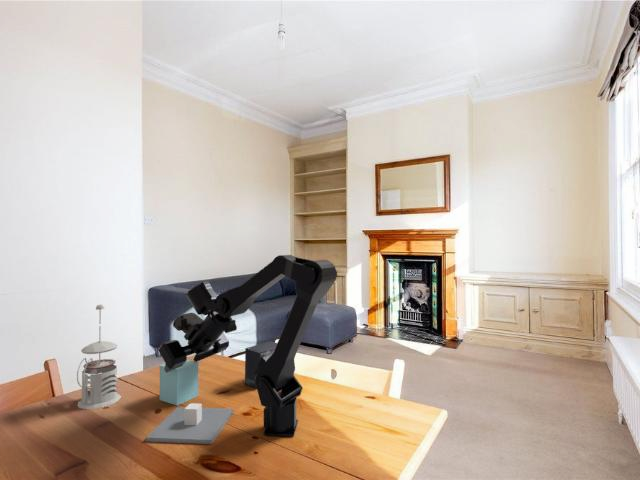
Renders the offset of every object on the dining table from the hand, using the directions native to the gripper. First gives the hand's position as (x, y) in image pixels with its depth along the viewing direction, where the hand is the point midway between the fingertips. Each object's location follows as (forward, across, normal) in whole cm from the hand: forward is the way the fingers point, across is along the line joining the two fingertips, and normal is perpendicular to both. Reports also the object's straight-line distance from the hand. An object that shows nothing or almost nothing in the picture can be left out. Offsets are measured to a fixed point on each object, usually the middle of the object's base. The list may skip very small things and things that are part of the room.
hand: (180, 365), depth 95 cm
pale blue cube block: (+6, 0, +6) cm, 9 cm away
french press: (+18, +12, -6) cm, 23 cm away
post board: (-4, +8, +16) cm, 19 cm away
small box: (-2, -20, +15) cm, 25 cm away
